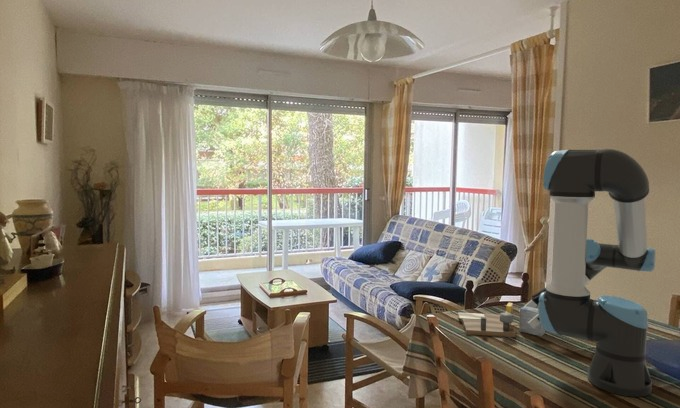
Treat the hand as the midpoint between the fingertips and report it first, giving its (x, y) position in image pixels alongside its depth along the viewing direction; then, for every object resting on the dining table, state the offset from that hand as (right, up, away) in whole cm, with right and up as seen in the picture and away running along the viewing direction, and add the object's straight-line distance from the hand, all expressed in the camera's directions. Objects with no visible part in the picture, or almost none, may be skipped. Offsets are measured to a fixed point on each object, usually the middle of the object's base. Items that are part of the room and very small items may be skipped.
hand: (525, 319), depth 164 cm
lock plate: (-12, -4, +6) cm, 15 cm away
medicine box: (+2, -5, 0) cm, 5 cm away
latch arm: (-6, -2, +1) cm, 7 cm away
